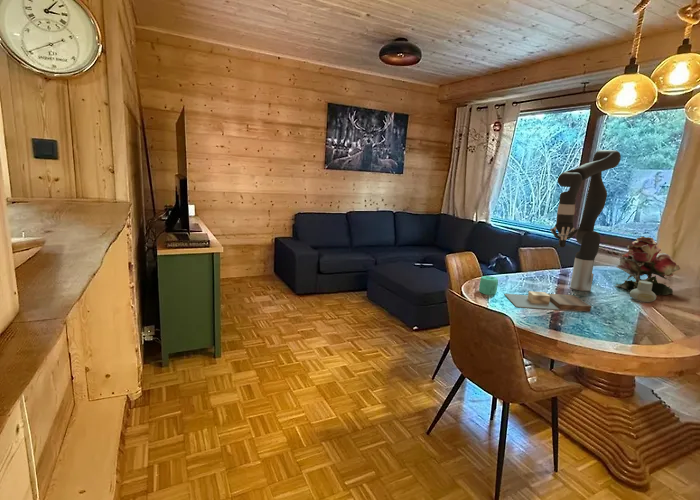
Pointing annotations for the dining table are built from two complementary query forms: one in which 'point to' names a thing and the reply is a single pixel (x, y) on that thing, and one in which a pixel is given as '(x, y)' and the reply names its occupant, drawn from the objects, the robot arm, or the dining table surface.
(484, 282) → the green cylinder
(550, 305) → the slate mat
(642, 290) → the air freshener
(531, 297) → the beech block
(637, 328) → the dining table surface
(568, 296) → the walnut board
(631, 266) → the rose bouquet
